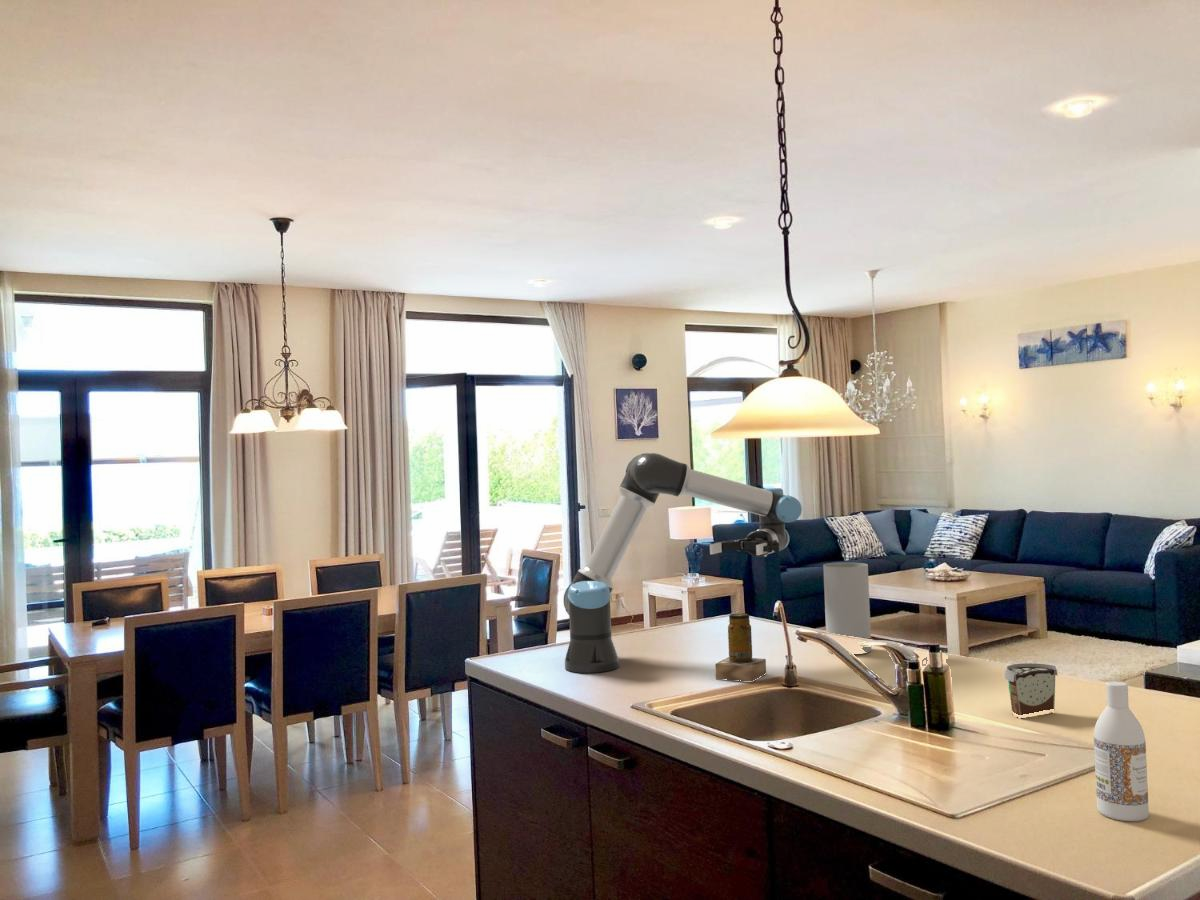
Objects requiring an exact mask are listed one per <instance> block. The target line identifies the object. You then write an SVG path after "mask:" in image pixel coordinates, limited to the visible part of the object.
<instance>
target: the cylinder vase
mask: <svg viewBox="0 0 1200 900" xmlns="http://www.w3.org/2000/svg"><path fill="white" fill-rule="evenodd" d="M822 568H823V588H824V613H825V614H824V615H825V633H826V632H829V633H835V634H840V635H846V636H854V637H865V638H871V639H872V635H871V633H872V632H871V630H872V629H871V610H870V609H871V606H870V586H869V565H868V563H863V562H831V563H824V564H823V567H822ZM826 649H827V648H826ZM862 649H863V650H864V651H865V652H867V653H866V654H868V653H870V652H871V651H872V646H871V647H863V648H862ZM827 651H828V652H829V653H831V652H830V651H829V650H828V649H827Z"/></svg>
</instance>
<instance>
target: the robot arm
mask: <svg viewBox="0 0 1200 900" xmlns="http://www.w3.org/2000/svg"><path fill="white" fill-rule="evenodd" d="M618 489H619V492H620V496H619V498H618V501H617V503H616V504H615V507H614V509H613V511H612V512H611V515H610V517H609V518H608V521H607V523H606V525H605V527H604V529H603V531H602V533H601V535H600V537H599V539H598V541H597V543H596V544H595V547H594V549H593V552H592V553H591V555H590V557H589V560H588V562H587V564H586V565H585V567H582V568H580V569H578V570H577V572H576V574H575V576H574V578H573V580H572V582H571V583H570V584H569V585H568V587H567V588H566V589H565V591H564V594H563V599H562V600H563V607H564V609H565V612H566V613H567V615H568V617H569V637H570V638H569V644H568V647H567V650H566V655H565V658H564V669H565V670H566V671H568V672H573V673H580V674H581V673H582V674H583V673H584V674H585V673H586V674H587V673H588V674H591V673H592V674H593V673H603V672H610V671H613V670H616V669H618V668H619V666H620V663H619V662H620V661H619V656H618V653H617V650H616V646H615V645H614V641H613V638H612V619H611V616H612V615H611V611H612V610H611V599H612V598H611V596H612V594H611V593H612V592H613V590H614V585H613V582H612V581H613V577H614V576H615V573H616V572H617V570H618V567H619V565H620V564H621V561H622V559H623V558H624V555H625V553H626V551H627V549H628V547H629V545H630V542H631V541H632V539H633V537H634V535H635V533H636V531H637V529H638V527H639V525H640V523H641V521H642V519H643V518H644V517H643V516H644V514H645V513H646V510H647V508H649V507H652V506H654V505H655V504H656V502H657V499H658V497H659V495H660V494H664V495H670V496H675V497H681V496H682V495H684V496H688V497H690V498H691V497H692V498H694V499H699V500H702V501H706V502H710V503H712V504H717V505H721V506H724V507H727V508H732V509H734V510H735V509H736V510H739V511H743V512H746V513H750V514H753V515H758V518H759V529H757V530H753V531H751V532H750V533H749V534H747V536H746V537H745V538H741V539H732V540H723V541H712V542H711V543H710V544H709V554H710V555H720V553H723V552H730V551H737V552H740V553H741V552H747V553H748V554H749V555H751V556H753V557H757V558H758V557H759V558H760V557H765V558H766V557H767V556H768V555H769V554H773V553H780V552H781V551H783V550H784V549H785V548H787V546H788V545H789V543H790V535H789V532H788V531H787V530H786V525H785V524H786V523H787V524H788V523H793V522H795V521H797V520H799V518H800V517H801V515H802V511H803V509H802V505H801V504H802V503H801V502H800V501H799V500H798V499H797V498H796V497H794V496H792V495H786V494H785V495H784V490H783V488H781V487H768V488H767V487H766V488H760V487H757V486H753V485H750V484H745V483H741V482H739V481H735V480H732V479H728V478H724V477H721V476H716V475H714V474H709V473H706V472H702V471H699V470H695V469H692V468H690V466H689V465H688V464H687V463H684V462H681V461H680V462H679V461H677V460H674V459H672V458H669V457H667V456H664V455H662V454H660V453H655V452H652V453H651V452H650V453H648V452H647V453H645V452H644V453H641V454H638V455H636V456H634V457H632V459H630V461H629V462H628V464H627V466H626V469H625V475H624V476H623V479H622V481H621V483H620V485H619V487H618Z"/></svg>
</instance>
